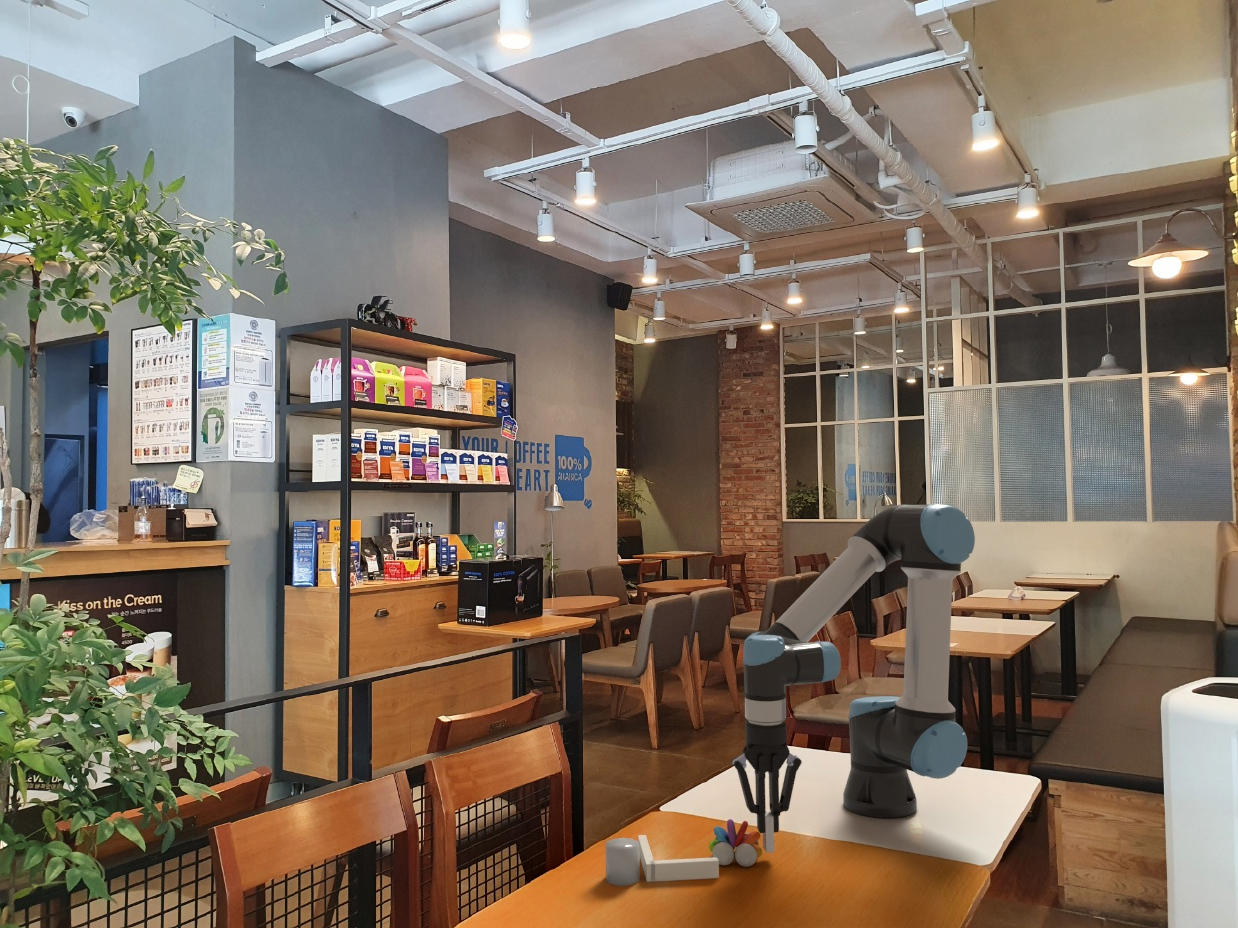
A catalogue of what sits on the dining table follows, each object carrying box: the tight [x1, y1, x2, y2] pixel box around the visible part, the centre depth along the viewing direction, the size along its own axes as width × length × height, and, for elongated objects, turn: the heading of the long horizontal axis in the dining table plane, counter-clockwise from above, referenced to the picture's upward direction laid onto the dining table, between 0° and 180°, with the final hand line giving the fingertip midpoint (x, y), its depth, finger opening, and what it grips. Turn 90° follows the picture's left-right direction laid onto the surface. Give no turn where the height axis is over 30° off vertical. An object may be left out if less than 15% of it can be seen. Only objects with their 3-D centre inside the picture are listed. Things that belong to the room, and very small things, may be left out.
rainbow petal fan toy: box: [708, 818, 763, 868], centre depth 169 cm, size 8×10×7 cm
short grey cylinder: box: [604, 837, 641, 887], centre depth 161 cm, size 6×6×6 cm
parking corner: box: [637, 834, 720, 883], centre depth 167 cm, size 13×14×3 cm
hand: (768, 849), depth 168 cm, fingers closed
